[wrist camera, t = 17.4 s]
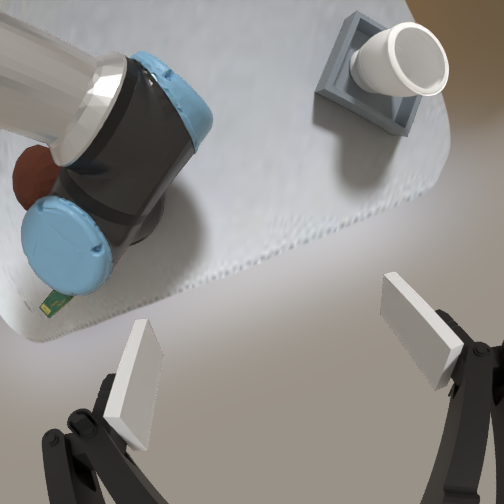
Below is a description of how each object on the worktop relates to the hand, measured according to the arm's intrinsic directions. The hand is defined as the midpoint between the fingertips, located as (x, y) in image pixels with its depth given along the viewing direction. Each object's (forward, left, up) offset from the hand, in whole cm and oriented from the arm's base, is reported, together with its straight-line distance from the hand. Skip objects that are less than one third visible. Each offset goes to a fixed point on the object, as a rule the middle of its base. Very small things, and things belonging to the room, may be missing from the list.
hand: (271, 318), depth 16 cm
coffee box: (-23, -23, -35) cm, 48 cm away
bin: (+13, +27, -35) cm, 46 cm away
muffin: (-32, -7, -35) cm, 48 cm away
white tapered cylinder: (+13, +28, -34) cm, 46 cm away
